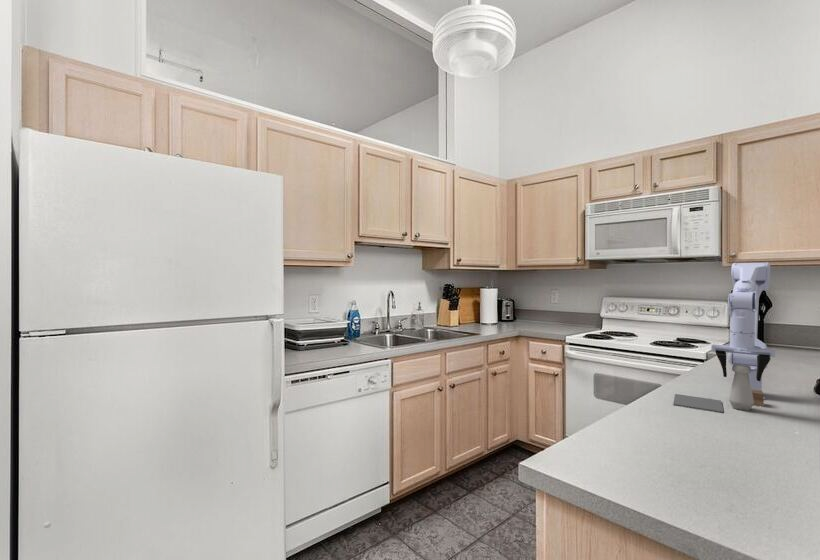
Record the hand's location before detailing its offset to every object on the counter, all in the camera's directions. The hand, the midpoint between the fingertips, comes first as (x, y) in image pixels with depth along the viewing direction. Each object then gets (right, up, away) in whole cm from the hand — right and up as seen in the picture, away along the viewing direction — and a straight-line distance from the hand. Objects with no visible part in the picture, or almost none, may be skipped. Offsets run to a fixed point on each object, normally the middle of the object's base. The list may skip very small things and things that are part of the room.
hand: (741, 378), depth 120 cm
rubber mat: (-10, -9, +4) cm, 14 cm away
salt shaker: (0, -9, 0) cm, 9 cm away
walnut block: (+8, -9, +5) cm, 13 cm away
